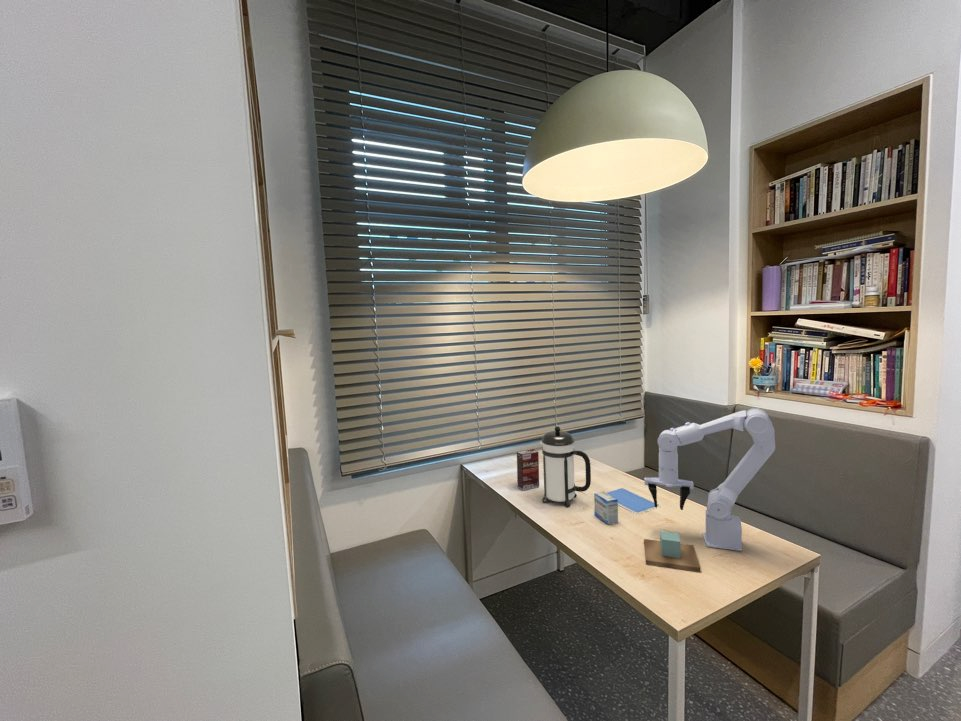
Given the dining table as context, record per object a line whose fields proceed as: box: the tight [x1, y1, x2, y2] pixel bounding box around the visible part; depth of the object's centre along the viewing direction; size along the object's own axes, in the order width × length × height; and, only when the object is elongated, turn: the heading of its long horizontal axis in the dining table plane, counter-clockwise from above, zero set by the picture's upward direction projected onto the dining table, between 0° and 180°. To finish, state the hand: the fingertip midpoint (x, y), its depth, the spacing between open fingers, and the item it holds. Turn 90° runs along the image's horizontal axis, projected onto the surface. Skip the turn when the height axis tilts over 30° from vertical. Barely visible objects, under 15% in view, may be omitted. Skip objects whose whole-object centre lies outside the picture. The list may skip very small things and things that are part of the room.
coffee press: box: [538, 426, 592, 508], centre depth 159 cm, size 17×16×30 cm
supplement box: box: [516, 449, 540, 492], centre depth 174 cm, size 9×5×16 cm, turn 114°
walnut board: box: [643, 538, 701, 573], centre depth 119 cm, size 14×12×1 cm
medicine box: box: [593, 490, 619, 525], centre depth 143 cm, size 8×4×9 cm, turn 21°
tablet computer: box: [606, 487, 661, 515], centre depth 157 cm, size 19×13×1 cm, turn 26°
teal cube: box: [659, 530, 682, 558], centre depth 119 cm, size 5×5×5 cm
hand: (668, 507), depth 132 cm, fingers open, 7 cm apart
